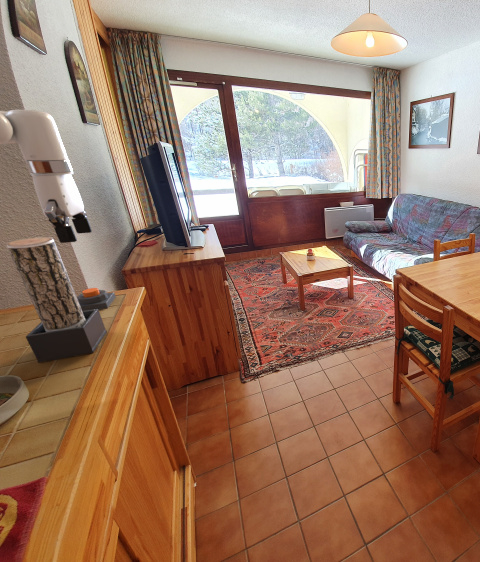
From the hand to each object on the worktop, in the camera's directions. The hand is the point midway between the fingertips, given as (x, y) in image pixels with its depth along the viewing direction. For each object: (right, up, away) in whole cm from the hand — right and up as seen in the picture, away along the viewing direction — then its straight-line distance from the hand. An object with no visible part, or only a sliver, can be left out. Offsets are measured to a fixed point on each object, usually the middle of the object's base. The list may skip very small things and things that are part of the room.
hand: (77, 237), depth 81 cm
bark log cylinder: (+7, -27, -8) cm, 29 cm away
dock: (+7, -27, -8) cm, 29 cm away
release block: (-6, -19, +12) cm, 23 cm away
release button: (-6, -16, +10) cm, 20 cm away
